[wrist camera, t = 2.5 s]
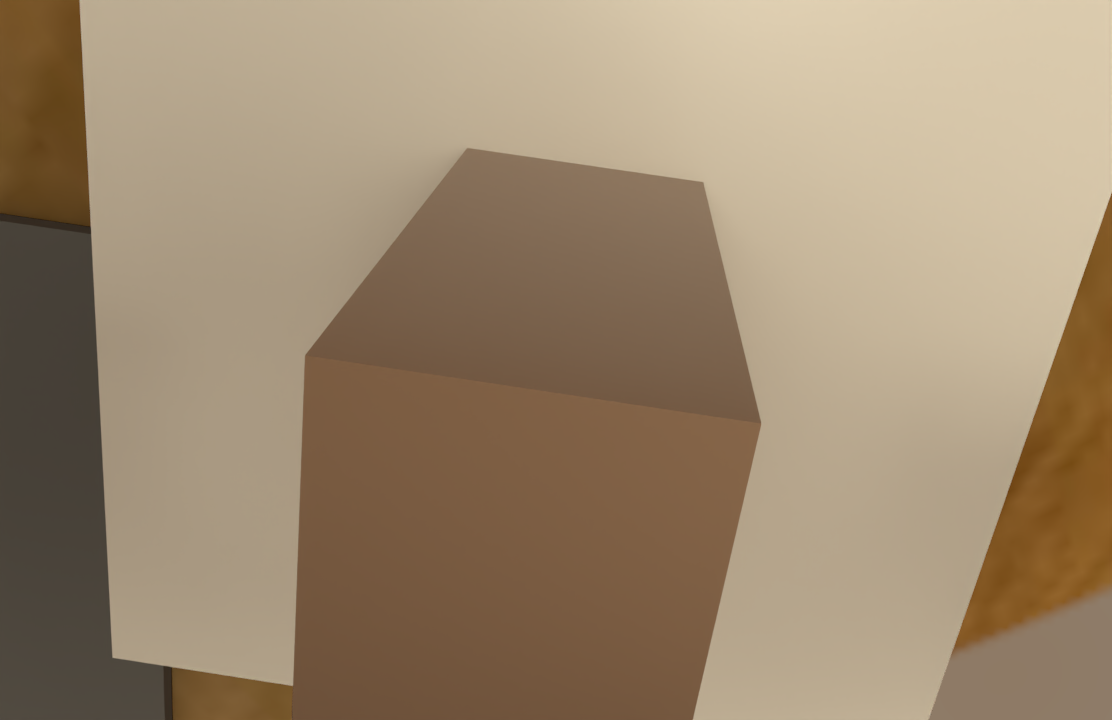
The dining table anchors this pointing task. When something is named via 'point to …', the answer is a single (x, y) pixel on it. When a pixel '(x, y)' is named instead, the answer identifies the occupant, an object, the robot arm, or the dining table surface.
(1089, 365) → the dining table surface
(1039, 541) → the dining table surface
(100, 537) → the mat
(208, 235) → the lid
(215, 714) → the dining table surface
